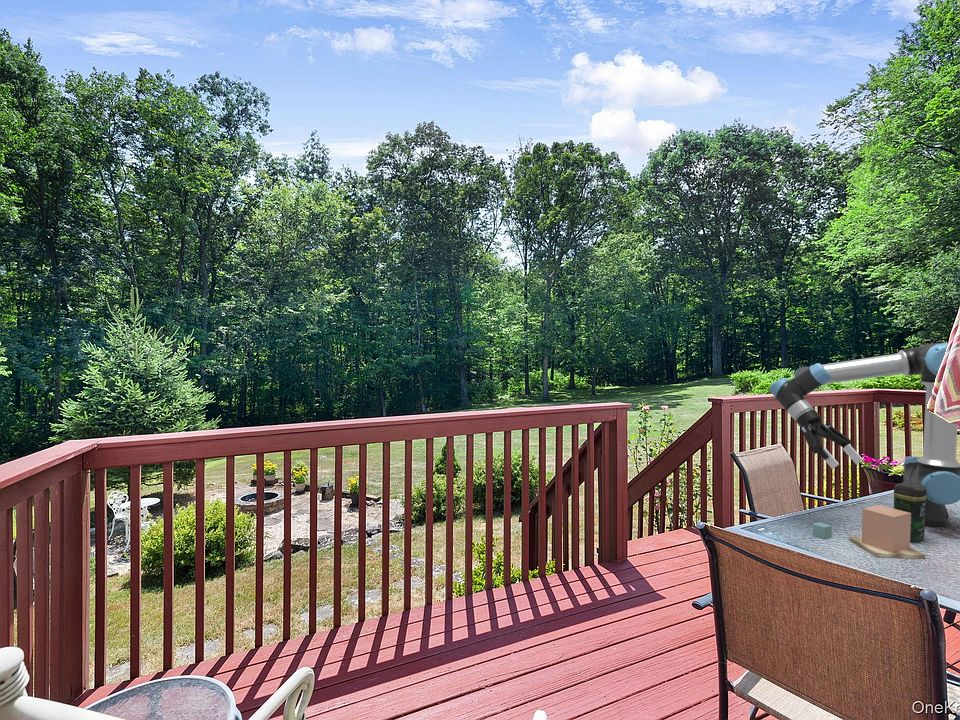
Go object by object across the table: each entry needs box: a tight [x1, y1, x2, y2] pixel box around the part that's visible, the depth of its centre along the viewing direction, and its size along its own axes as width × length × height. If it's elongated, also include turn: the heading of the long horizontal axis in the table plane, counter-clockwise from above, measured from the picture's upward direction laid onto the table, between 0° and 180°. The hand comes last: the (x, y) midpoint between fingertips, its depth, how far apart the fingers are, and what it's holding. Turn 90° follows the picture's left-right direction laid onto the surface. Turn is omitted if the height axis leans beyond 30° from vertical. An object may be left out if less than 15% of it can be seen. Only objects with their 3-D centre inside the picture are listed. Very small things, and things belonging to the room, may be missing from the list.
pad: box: [848, 536, 926, 560], centre depth 172 cm, size 14×14×1 cm
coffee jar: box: [893, 481, 926, 543], centre depth 182 cm, size 10×8×19 cm
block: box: [811, 521, 833, 540], centre depth 183 cm, size 4×4×4 cm
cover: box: [861, 504, 911, 553], centre depth 172 cm, size 9×9×11 cm
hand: (847, 464), depth 186 cm, fingers open, 13 cm apart
